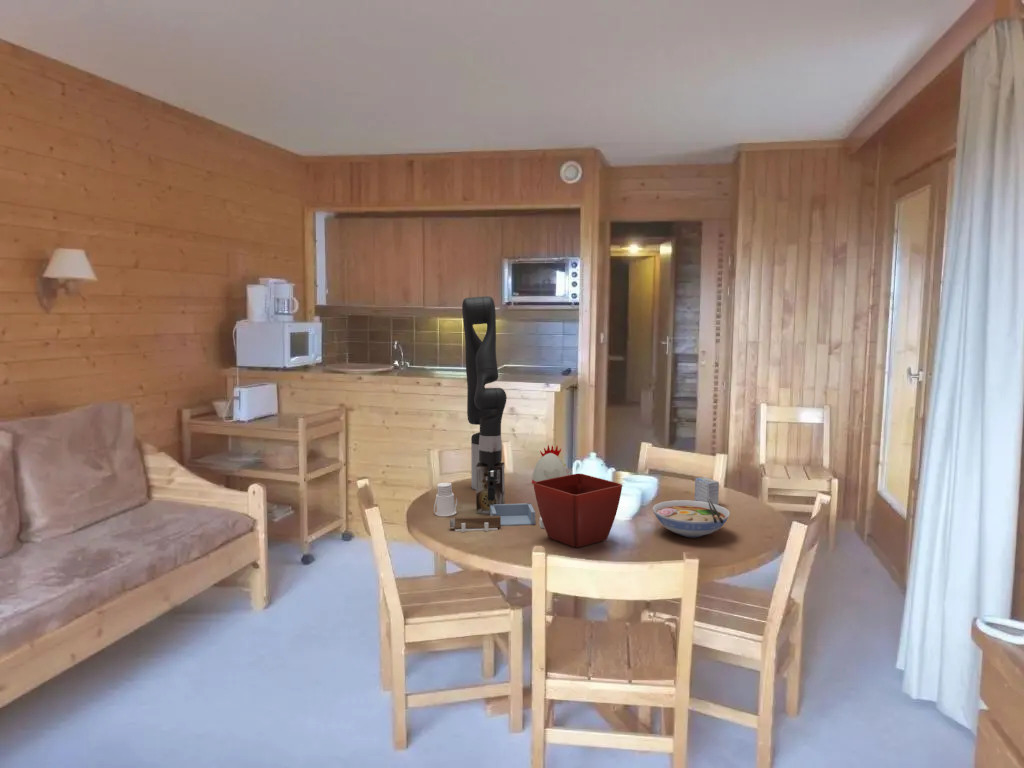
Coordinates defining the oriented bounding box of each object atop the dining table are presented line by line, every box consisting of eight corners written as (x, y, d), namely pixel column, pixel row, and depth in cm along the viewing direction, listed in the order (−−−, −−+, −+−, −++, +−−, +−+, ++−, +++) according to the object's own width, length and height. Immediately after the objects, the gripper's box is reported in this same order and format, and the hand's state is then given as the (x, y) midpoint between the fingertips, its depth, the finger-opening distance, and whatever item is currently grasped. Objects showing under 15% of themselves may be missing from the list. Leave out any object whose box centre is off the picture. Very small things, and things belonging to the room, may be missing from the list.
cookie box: (505, 509, 248) (505, 462, 246) (503, 514, 241) (503, 466, 239) (478, 508, 249) (478, 461, 247) (475, 513, 242) (475, 465, 240)
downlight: (453, 509, 247) (452, 480, 246) (461, 514, 241) (459, 485, 240) (431, 513, 244) (429, 483, 242) (438, 518, 238) (436, 488, 236)
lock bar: (449, 526, 227) (449, 517, 226) (499, 524, 228) (499, 515, 228) (450, 529, 224) (450, 519, 224) (500, 527, 226) (500, 518, 225)
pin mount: (454, 526, 228) (454, 518, 228) (542, 523, 232) (542, 515, 231) (455, 532, 223) (455, 524, 222) (545, 529, 226) (545, 521, 225)
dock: (489, 516, 239) (489, 504, 239) (530, 515, 241) (530, 503, 240) (492, 526, 229) (492, 513, 228) (535, 524, 230) (535, 512, 230)
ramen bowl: (651, 519, 236) (651, 494, 235) (724, 523, 232) (725, 498, 231) (652, 545, 211) (652, 517, 210) (734, 549, 208) (735, 521, 207)
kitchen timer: (569, 487, 277) (569, 448, 275) (533, 487, 276) (533, 448, 275) (566, 478, 290) (566, 441, 289) (531, 478, 290) (531, 441, 288)
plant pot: (531, 536, 219) (531, 481, 217) (578, 525, 230) (579, 472, 228) (574, 554, 204) (575, 495, 202) (623, 541, 215) (624, 484, 213)
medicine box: (718, 506, 251) (719, 481, 250) (707, 507, 250) (708, 482, 249) (704, 500, 259) (705, 476, 258) (694, 502, 257) (694, 477, 256)
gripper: (477, 444, 249) (477, 491, 251) (480, 452, 235) (480, 503, 237) (499, 443, 250) (499, 491, 252) (503, 452, 236) (503, 502, 238)
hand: (490, 496), depth 244 cm, fingers closed on cookie box, 7 cm apart
